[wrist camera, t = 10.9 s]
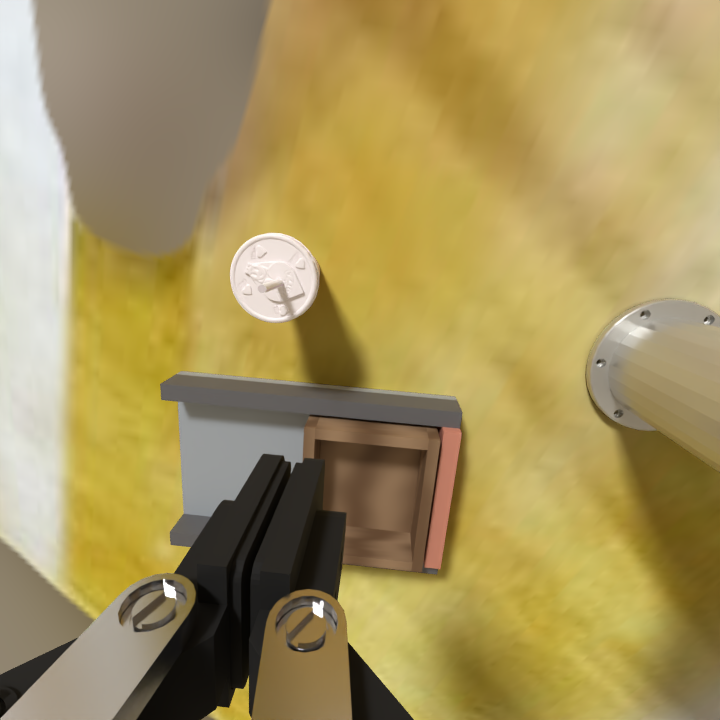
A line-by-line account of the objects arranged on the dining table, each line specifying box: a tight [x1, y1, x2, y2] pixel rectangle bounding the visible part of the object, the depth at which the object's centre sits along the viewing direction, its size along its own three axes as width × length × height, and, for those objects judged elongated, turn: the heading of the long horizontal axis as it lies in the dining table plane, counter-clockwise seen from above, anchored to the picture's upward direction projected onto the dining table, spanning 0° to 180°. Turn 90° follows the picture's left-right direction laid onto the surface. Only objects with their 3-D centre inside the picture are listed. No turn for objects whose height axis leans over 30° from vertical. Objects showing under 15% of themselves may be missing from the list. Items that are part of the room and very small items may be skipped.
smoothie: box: [230, 233, 320, 323], centre depth 31 cm, size 6×6×14 cm
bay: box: [160, 371, 462, 574], centre depth 41 cm, size 28×18×5 cm, turn 86°
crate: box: [303, 414, 440, 572], centre depth 40 cm, size 12×14×5 cm
